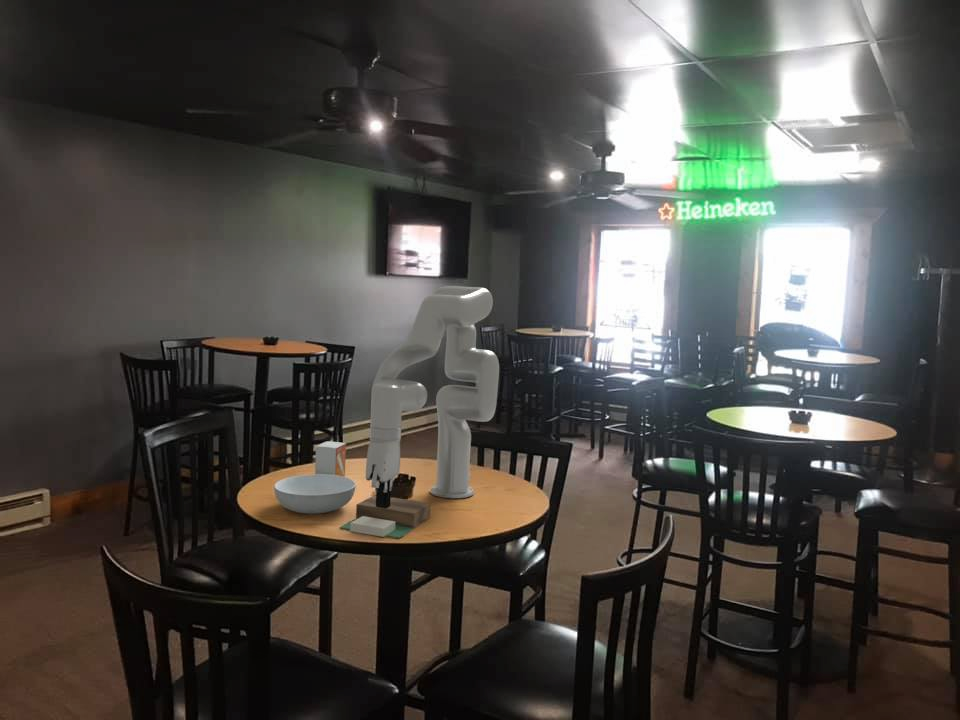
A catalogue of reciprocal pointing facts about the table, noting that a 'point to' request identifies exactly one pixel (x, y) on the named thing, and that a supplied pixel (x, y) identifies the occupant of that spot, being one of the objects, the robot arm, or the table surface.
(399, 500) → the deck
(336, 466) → the small box
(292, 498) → the serving bowl
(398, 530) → the mat
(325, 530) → the table surface
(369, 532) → the light grey flat block
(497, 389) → the robot arm
